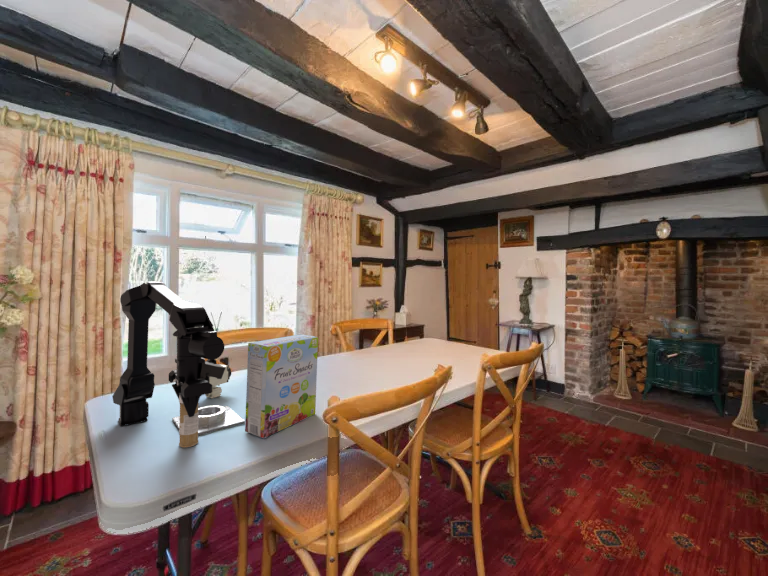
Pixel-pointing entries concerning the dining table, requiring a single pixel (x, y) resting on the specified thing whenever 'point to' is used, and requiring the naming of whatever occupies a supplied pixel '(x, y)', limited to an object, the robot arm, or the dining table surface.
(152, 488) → the dining table surface
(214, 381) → the pneumatic valve
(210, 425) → the duct flange
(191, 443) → the sprinkles bottle
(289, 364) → the snack box
